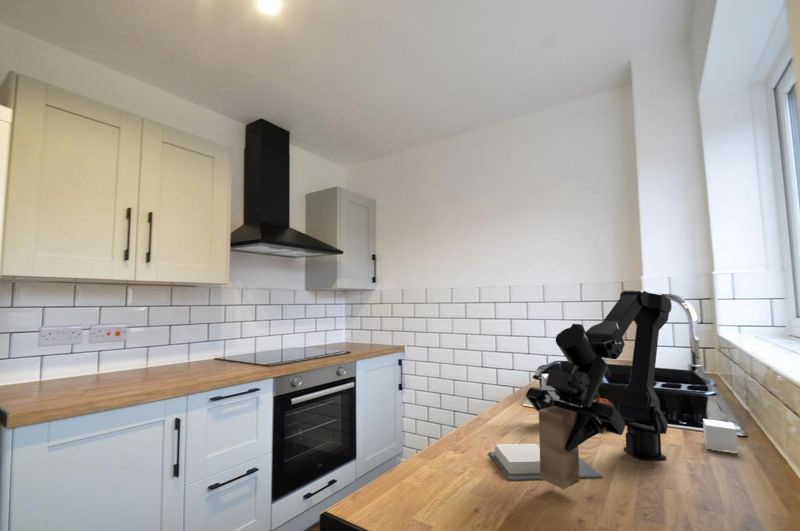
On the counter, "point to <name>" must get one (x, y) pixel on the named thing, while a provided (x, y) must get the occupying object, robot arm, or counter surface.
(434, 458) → the counter surface
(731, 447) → the white cube
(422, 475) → the counter surface
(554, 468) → the walnut pillar block
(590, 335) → the robot arm
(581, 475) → the build board
